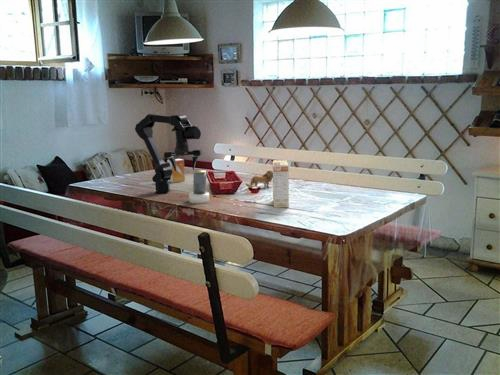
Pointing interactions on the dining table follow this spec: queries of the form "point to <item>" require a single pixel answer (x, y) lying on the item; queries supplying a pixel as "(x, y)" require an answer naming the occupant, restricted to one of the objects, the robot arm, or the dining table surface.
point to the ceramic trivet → (199, 198)
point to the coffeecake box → (280, 183)
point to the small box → (177, 171)
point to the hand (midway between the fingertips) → (184, 170)
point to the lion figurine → (263, 179)
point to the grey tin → (199, 182)
